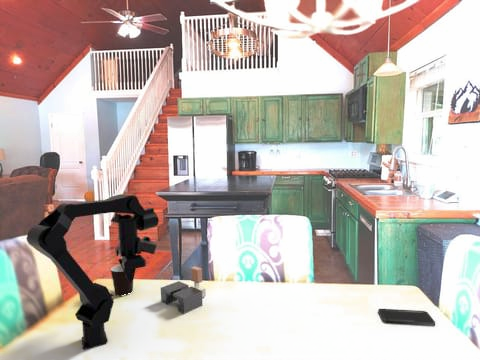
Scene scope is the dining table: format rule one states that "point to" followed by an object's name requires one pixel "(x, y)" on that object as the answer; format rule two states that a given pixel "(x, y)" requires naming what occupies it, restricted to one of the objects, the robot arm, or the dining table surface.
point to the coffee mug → (120, 281)
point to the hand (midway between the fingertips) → (130, 282)
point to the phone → (406, 317)
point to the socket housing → (182, 296)
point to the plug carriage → (197, 279)
